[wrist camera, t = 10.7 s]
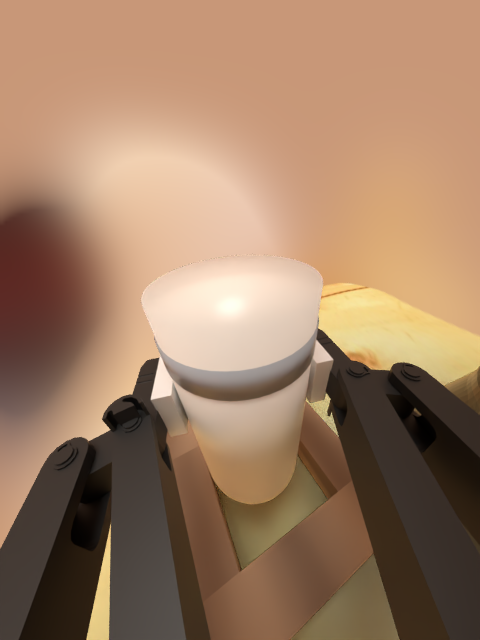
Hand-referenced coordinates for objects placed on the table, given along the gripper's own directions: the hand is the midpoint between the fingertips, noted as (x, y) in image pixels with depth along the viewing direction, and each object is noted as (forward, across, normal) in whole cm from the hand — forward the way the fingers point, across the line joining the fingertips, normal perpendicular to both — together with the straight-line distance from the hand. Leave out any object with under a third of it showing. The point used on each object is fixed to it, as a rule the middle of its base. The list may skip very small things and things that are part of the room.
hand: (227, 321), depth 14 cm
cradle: (-5, +1, -14) cm, 15 cm away
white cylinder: (-5, 0, -7) cm, 9 cm away
